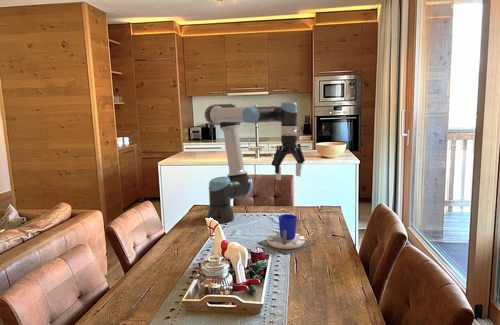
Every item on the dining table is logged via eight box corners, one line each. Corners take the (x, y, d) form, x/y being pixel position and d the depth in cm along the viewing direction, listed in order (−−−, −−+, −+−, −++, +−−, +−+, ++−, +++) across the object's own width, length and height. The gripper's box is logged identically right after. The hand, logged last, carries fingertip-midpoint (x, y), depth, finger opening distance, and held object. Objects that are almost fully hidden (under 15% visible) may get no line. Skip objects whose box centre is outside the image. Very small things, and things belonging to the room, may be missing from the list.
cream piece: (276, 251, 162) (276, 233, 161) (261, 238, 178) (261, 222, 176) (311, 245, 167) (311, 229, 166) (294, 233, 183) (294, 218, 182)
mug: (294, 232, 180) (294, 211, 179) (297, 240, 168) (298, 219, 167) (277, 232, 180) (277, 212, 179) (279, 241, 168) (279, 219, 167)
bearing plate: (258, 243, 174) (258, 237, 173) (285, 234, 185) (285, 228, 185) (286, 254, 160) (286, 247, 160) (314, 244, 172) (314, 237, 171)
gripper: (275, 136, 171) (274, 182, 174) (312, 133, 186) (311, 175, 190) (264, 135, 177) (264, 180, 180) (301, 132, 192) (300, 173, 196)
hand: (288, 178), depth 185 cm, fingers open, 13 cm apart
